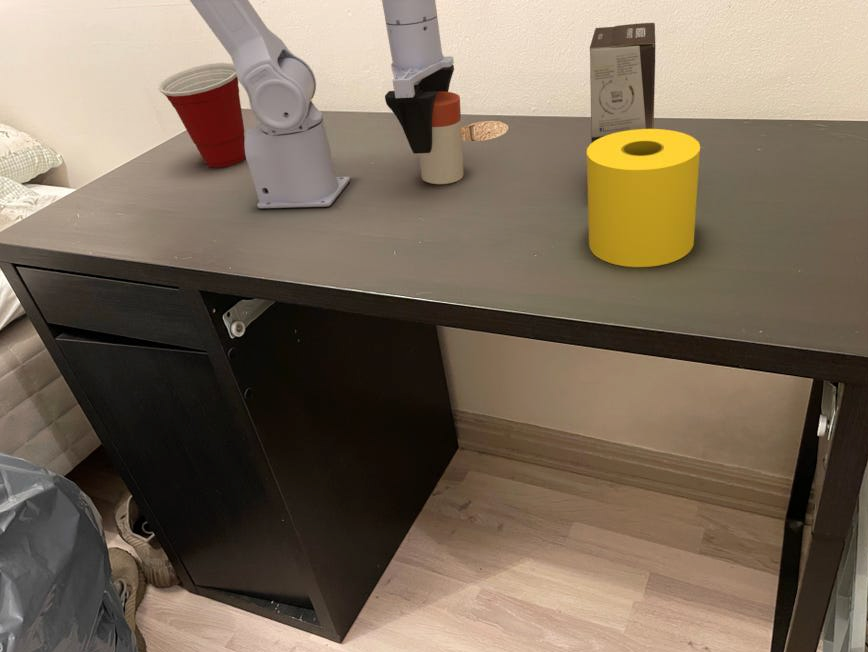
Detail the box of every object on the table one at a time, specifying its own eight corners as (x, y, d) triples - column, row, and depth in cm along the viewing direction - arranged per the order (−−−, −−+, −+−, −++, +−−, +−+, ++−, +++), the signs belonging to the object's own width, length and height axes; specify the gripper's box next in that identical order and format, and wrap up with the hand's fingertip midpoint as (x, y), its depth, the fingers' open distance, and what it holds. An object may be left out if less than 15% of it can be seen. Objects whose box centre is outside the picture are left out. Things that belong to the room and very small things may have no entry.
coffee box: (651, 201, 79) (655, 42, 70) (591, 202, 81) (587, 47, 71) (652, 168, 86) (656, 20, 77) (597, 169, 88) (594, 24, 78)
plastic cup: (171, 174, 103) (138, 86, 96) (219, 145, 111) (192, 62, 104) (232, 177, 99) (203, 86, 92) (278, 148, 107) (254, 62, 100)
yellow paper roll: (690, 269, 67) (697, 170, 61) (581, 265, 70) (578, 169, 64) (696, 220, 75) (702, 128, 69) (597, 218, 77) (595, 129, 72)
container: (467, 168, 93) (463, 91, 87) (459, 185, 89) (454, 105, 83) (426, 166, 94) (421, 90, 88) (417, 183, 89) (410, 104, 84)
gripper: (431, 32, 74) (449, 162, 82) (459, 1, 86) (473, 118, 94) (365, 37, 76) (389, 164, 84) (401, 6, 87) (419, 121, 95)
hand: (429, 140), depth 89 cm, fingers open, 7 cm apart
